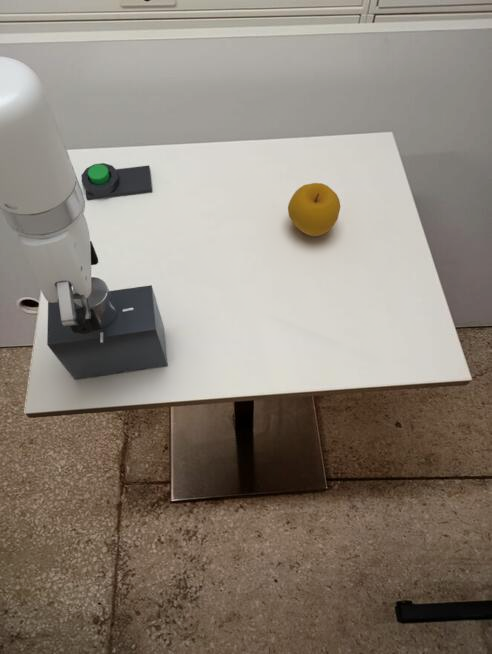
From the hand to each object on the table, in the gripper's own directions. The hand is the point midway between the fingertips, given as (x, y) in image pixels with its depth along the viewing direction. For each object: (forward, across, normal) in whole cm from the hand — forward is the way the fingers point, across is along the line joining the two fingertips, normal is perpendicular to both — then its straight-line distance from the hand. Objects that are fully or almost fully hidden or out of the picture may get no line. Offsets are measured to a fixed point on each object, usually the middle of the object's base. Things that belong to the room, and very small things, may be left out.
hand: (86, 295), depth 62 cm
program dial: (+5, 0, +1) cm, 5 cm away
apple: (+16, -19, +35) cm, 43 cm away
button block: (+17, -35, +2) cm, 39 cm away
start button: (+15, -35, -1) cm, 38 cm away
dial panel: (+17, 0, +1) cm, 17 cm away
